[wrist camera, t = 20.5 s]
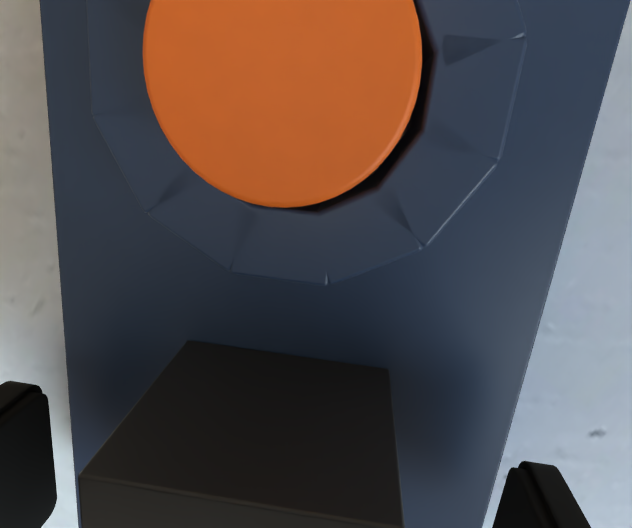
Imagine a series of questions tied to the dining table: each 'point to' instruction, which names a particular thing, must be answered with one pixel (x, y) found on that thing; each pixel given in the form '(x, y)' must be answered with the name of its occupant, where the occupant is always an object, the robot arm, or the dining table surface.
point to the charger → (250, 447)
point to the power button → (282, 91)
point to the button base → (334, 233)
